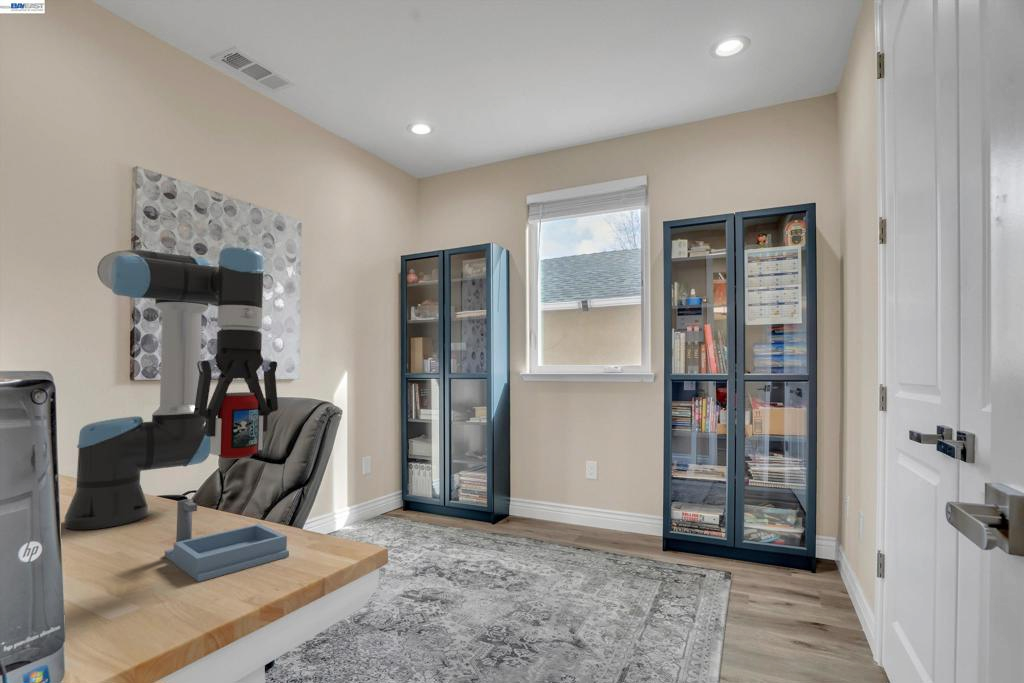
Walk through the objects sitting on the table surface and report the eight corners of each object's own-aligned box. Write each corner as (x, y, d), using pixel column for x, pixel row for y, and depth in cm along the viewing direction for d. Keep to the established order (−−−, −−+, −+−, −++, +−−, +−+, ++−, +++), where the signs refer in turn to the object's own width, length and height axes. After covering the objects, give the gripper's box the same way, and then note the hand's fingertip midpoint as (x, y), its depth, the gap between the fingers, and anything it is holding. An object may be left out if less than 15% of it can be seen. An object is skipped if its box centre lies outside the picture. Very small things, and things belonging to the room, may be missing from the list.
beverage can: (245, 459, 92) (246, 393, 93) (208, 460, 92) (210, 393, 93) (263, 454, 98) (265, 392, 99) (229, 454, 99) (230, 392, 99)
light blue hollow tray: (164, 556, 95) (166, 501, 95) (248, 536, 106) (249, 487, 107) (198, 581, 83) (200, 519, 84) (288, 556, 94) (290, 501, 95)
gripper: (188, 325, 87) (184, 461, 85) (299, 331, 102) (297, 447, 100) (173, 327, 92) (169, 456, 90) (281, 333, 107) (279, 444, 105)
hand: (236, 451), depth 95 cm, fingers closed on beverage can, 7 cm apart
